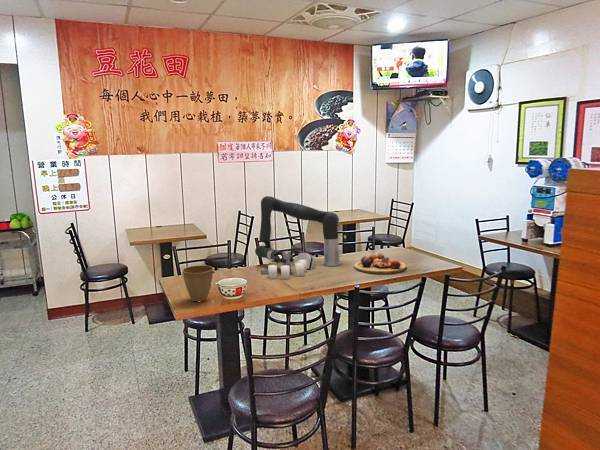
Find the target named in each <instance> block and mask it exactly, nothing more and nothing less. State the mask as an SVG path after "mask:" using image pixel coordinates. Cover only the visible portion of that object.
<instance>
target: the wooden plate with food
mask: <svg viewBox="0 0 600 450" xmlns="http://www.w3.org/2000/svg"><path fill="white" fill-rule="evenodd" d="M353 267H354V269H355V270H356V271H358V272H362V273H366V274H374V275H375V274H376V275H377V274H379V275H382V274H383V275H386V274H390V275H391V274H397V273H401V272H403V271H406V270H407V264H406V263H405V262H402V261H399V260H397V259H391V258H389V257H385V255H384V254H383V253H379V254H377V255H374V254H371V255H369V256H367V255H366V254H365V255H364V256H363V257H361V259H360V261H357V262H355V263H354V265H353Z"/></svg>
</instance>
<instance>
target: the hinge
mask: <svg viewBox="0 0 600 450" xmlns="http://www.w3.org/2000/svg"><path fill="white" fill-rule="evenodd" d="M298 260H306V263H307V269H309V270H313V267H314V263H315V257H314V256H313V255H312V254H310V253H307V252H298V255H297V258H296V260H295V261H293V262H294V263H293V265H294V266H295V263H298Z"/></svg>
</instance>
